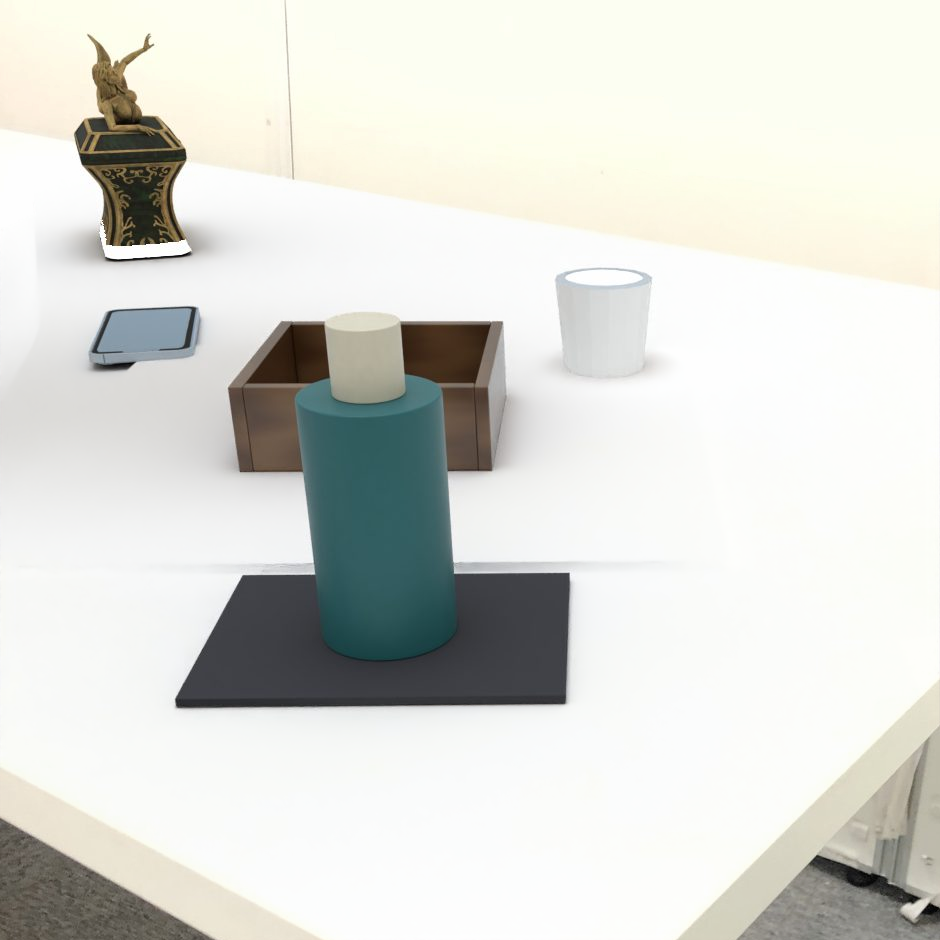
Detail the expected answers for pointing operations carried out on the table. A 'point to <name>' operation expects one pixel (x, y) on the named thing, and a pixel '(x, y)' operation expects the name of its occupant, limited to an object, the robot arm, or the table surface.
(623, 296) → the white cup
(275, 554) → the table surface
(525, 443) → the table surface
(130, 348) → the smartphone
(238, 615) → the mat
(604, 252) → the table surface
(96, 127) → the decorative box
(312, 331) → the wooden box
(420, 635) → the bottle
